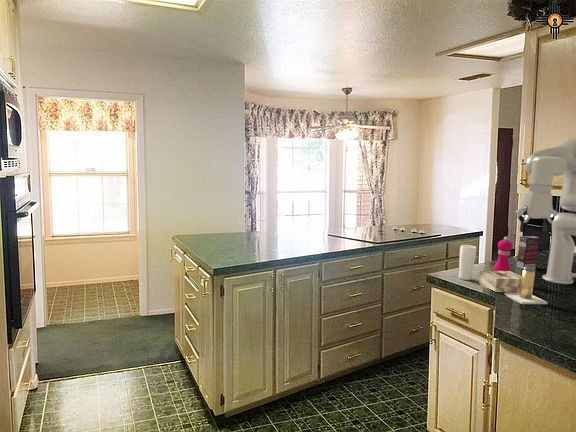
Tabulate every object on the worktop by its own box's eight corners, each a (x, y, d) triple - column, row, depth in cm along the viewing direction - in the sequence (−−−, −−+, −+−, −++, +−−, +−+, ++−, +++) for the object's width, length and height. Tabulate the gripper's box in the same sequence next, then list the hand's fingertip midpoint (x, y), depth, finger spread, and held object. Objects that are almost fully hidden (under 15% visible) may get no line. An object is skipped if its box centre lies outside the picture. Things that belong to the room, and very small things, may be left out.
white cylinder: (453, 277, 214) (457, 244, 212) (465, 276, 217) (468, 244, 214) (464, 281, 208) (468, 248, 206) (476, 280, 211) (480, 247, 208)
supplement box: (528, 265, 246) (532, 235, 244) (536, 268, 242) (540, 237, 239) (515, 266, 243) (519, 236, 241) (523, 268, 239) (527, 237, 236)
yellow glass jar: (526, 295, 189) (530, 266, 187) (534, 299, 185) (538, 269, 183) (516, 295, 188) (520, 266, 187) (524, 299, 184) (527, 269, 182)
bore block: (508, 284, 207) (509, 271, 206) (525, 293, 195) (527, 279, 195) (478, 284, 205) (480, 270, 204) (494, 292, 193) (496, 278, 192)
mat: (528, 295, 193) (528, 293, 193) (547, 304, 182) (547, 302, 182) (504, 294, 191) (504, 292, 191) (521, 304, 180) (521, 302, 180)
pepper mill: (511, 283, 210) (516, 238, 207) (493, 281, 211) (499, 237, 208) (507, 278, 217) (512, 236, 214) (490, 277, 218) (495, 234, 215)
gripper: (553, 188, 187) (547, 231, 190) (513, 187, 184) (508, 230, 187) (567, 190, 180) (560, 234, 183) (526, 189, 177) (520, 234, 180)
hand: (534, 232), depth 185 cm, fingers open, 9 cm apart
